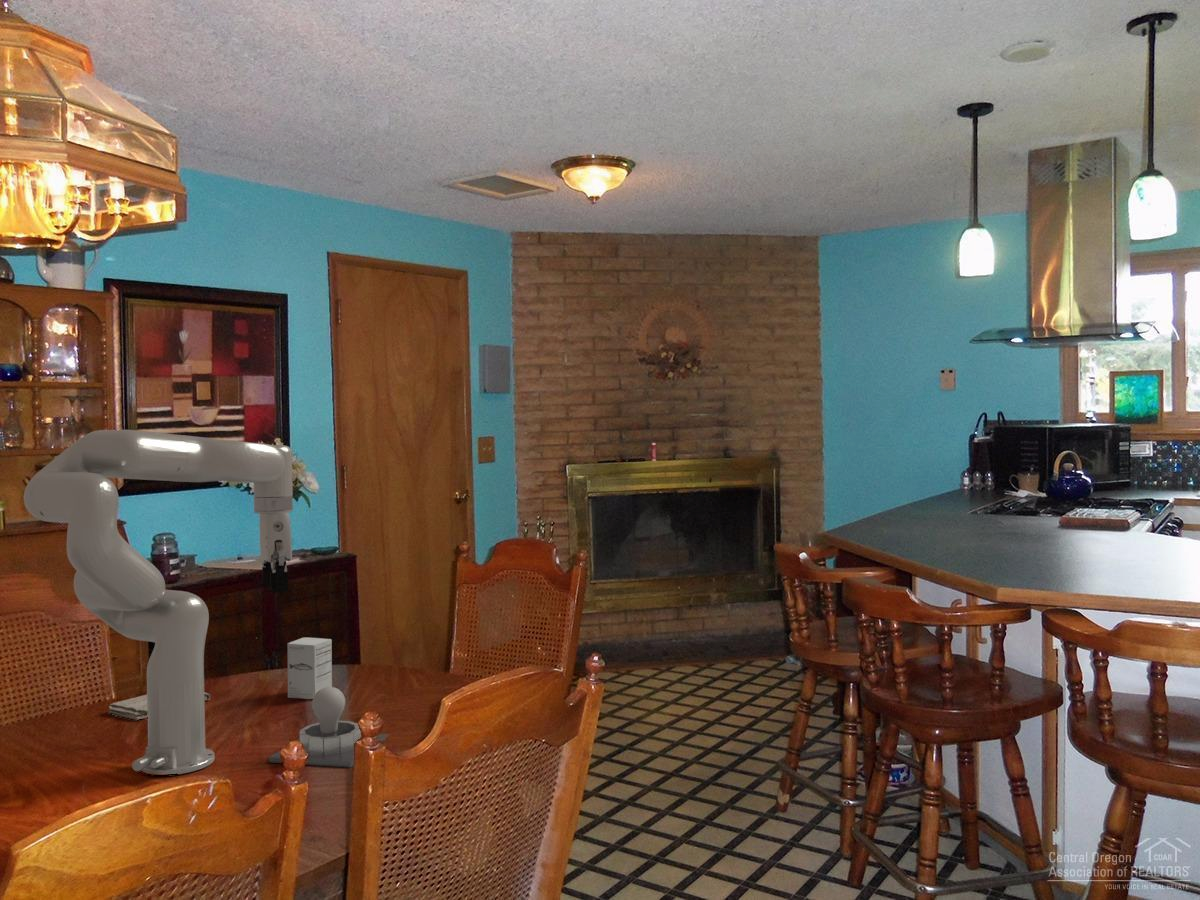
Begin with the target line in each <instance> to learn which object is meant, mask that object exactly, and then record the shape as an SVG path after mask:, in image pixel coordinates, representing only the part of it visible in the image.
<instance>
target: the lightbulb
mask: <svg viewBox="0 0 1200 900" xmlns="http://www.w3.org/2000/svg"><path fill="white" fill-rule="evenodd" d="M345 707H346V698H345V695H344V694H343V692H342V691H341V689H339V688H336V687H334V686H332V687H325V688H322V689H320V690H319V691H318V692H317V693H316V694H315V695H314V697H313V700H311V709H312V712H313V714H314V715H315V717H316V719H317V721H318V723H319V724H320V730H321V732H322V737H332V736H336V731H337V729H338V721H340V718H341V716H342V714H343V712H344V709H345Z"/></svg>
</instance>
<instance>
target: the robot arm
mask: <svg viewBox="0 0 1200 900" xmlns="http://www.w3.org/2000/svg"><path fill="white" fill-rule="evenodd" d="M111 479H126V480H129V479H130V480H145V481H146V480H147V481H162V482H163V481H165V482H168V481H169V482H179V483H181V482H182V483H184V482H185V483H187V482H188V483H207V482H208V483H209V482H223V481H224V482H228V483H234V484H236V483H238V484H242V483H243V484H244V483H245V484H246V483H247V484H248V483H251V484H252V483H253V513H254V514H257V515H258V514H259V550H260V557H261V559H262V567H261V576H262V586H263V587H270V593H271V594H279V593H287V592H289V591H288V590H289V586H288V585H289V583H288V578H289V576H288V575H289V574H288V573H289V572H288V568H287V562H291V561H292V559H293V549H292V547H293V544H292V531H291V519H290V513H293V512H294V507H293V506H294V504H293V502H294V501H293V499H294V498H293V497H294V496H293V494H294V493H293V453H292V450H291V448H290V446H288V445H284V444H267V443H260V442H259V443H258V442H248V441H237V440H229V439H228V440H227V439H217V438H211V437H205V436H203V437H202V436H193V435H185V434H182V435H181V434H176V433H175V434H173V433H166V432H165V433H163V432H154V431H145V430H137V429H98V430H93V431H90V432H89V433H87V434H85V435H83V436H81V437H80V438H78V439H77V440H76V441H74V442H73V443H72V444H71V445H70V446H68V447H67V448H66V449H65V450H63V451H62V452H61V453H60V454H58V455H57V456H56V457H55V458H53V459H52V460H51V461H50V462H49V463H47V464H46V465H45V466H43V468H42V469H40V470H39V471H38V472H37V473H36V474H34V476H33V477H32V478H31V479H30V480H29V481H28V483H27V484H26V487H25V489H24V493H23V503H24V506H25V508H26V511H27V512H28V513H29V514H30V515H31V516H32V517H34V518H35V519H36V520H39V521H43V522H47V523H58V524H59V523H60V524H61V523H64V524H67V525H68V526H67V530H66V531H67V532H66V555H67V559H68V561H69V564H71V566H72V567H73V568H74V570H76V572H75V574H74V577H73V589H74V593H75V596H76V598H77V600H78V601H79V602H80V603H81V605H82V606H83V607H84V608H86V609H87V610H88V611H89V612H91V613H92V614H93V615H95V616H96V617H97V618H98V619H100V620H101V621H102V622H103V623H104V624H106V625H107V626H109V627H111V629H113V630H114V631H116V632H117V633H118V634H120V635H122V636H124V637H125V638H128V639H130V640H136V641H142V642H150V643H154V648H153V650H152V652H151V654H150V657H149V659H148V662H147V666H146V694H147V713H148V719H147V746H146V747H145V754H143V756H141V757H139V758H137V759H135V760H134V761H133V762H132V763H131V765H132V766H131V768H132V769H133V770H134V771H135V772H141V771H143V772H146V773H153V774H176V773H177V774H178V775H183V774H189V773H192V772H195V771H200V770H202V769H204V768H207V767H209V766H210V765H211V764H212V763H213V762H214V761H215V757H216V756H215V755H216V754H215V752H214V751H213V750H212V749H210V748H206V715H205V713H206V712H205V705H206V703H205V700H204V692H205V666H204V665H205V664H204V663H205V660H204V659H205V645H206V638H207V633H208V628H209V621H210V615H209V614H210V613H209V609H208V606H207V604H206V603H205V601H204V600H203V599H202V598H201V597H200V596H198V595H196V594H194V593H192V592H189V591H184V590H174V589H166V581H165V578H164V576H163V575H162V573H161V571H160V570H159V569H158V568H157V567H156V566H155V565H154V564H153V563H152V562H150V560H148V559H147V558H145V556H143V555H142V554H141V553H140V552H138V551H137V550H136V549H135V547H133V546H132V545H131V544H129V543H128V542H127V541H126V540H125V539H124V537H123V536H121V534H120V533H119V530H118V522H117V521H118V512H119V503H120V500H119V499H120V498H119V497H120V496H119V493H118V489H117V487H116V486H115V484H114V483H113V481H112V480H111ZM140 770H141V771H140Z"/></svg>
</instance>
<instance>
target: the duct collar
mask: <svg viewBox="0 0 1200 900" xmlns="http://www.w3.org/2000/svg"><path fill="white" fill-rule="evenodd" d="M358 724H359V723H357V722H354V721H350V720H339V721H338V729H337V731H336V736H332V737H322V732H321V730H320V724H319V722H315V723H312V724H309V725H306V726H305V727H303V728H301V729H300V730H299V738H297V739H296V740H295V741H300V742H301V743H302V744H303V746H304V748H305V750H306V751H307V753H308V762H307V765H306V766H320V767H321V766H322V767H334V768H335V767H336V768H337V767H338V768H349V769H351V768H352V767H353V766H354V765H353V764H354V743H355V742H356V741H357V740H358V739H360V738H361V737H362V735H361V733H362V730H361V731H360V729H359V726H358ZM378 734H379V735H378V736H377V737H379V738H377V737H376V738H377V739H378V740H380V741H382V740H384V741H385V738H386V737H388V736H389V735H388V733H387V734H384V733H378ZM388 738H389V737H388ZM385 742H386V741H385ZM268 760H269V763H271V764H272V763H273V764H275V763H276V764H283V763H282V761H281V758H280V750H278V751H277V752H275V753H273V754H271V755H270V756H269V758H268Z"/></svg>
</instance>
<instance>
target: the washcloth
mask: <svg viewBox="0 0 1200 900" xmlns="http://www.w3.org/2000/svg"><path fill="white" fill-rule="evenodd" d="M204 700H209V701H210V700H211V695H210V693H208V692H205V691H204ZM108 709H109V710H110V711H108V713H107V714H108V715H112V716H113V715H115V716H114V717H117V716H120V717H119V718H121V717H122V716H123V717H126V718H127V717H128V718H132V719H136V720H135V721H137V720H139V719H143V718H147V717H148V713H147V693H146V694H144V695H139V696H136V697H132V698H128V699H124V700H121V701H115V702H113V703H110V704H109V705H108ZM126 718H125V719H126ZM139 721H140V720H139Z"/></svg>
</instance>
